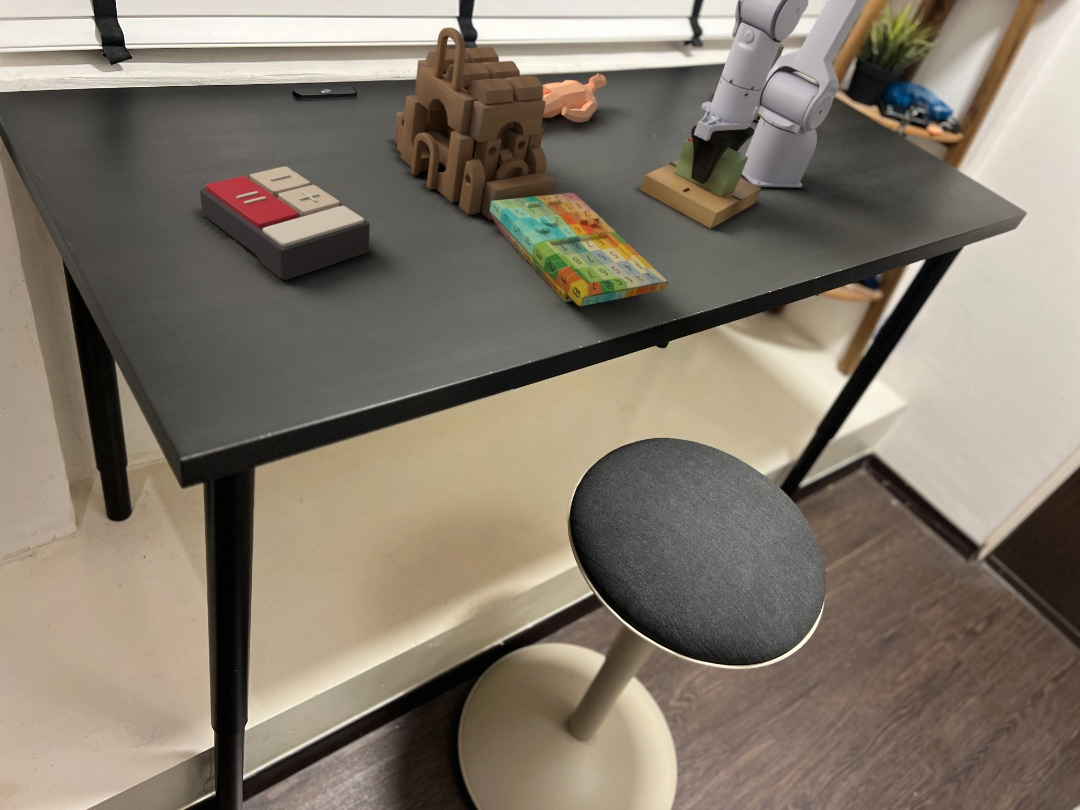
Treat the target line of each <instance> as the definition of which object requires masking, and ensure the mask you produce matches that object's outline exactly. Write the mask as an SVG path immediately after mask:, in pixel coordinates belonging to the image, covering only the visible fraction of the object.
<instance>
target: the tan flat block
mask: <svg viewBox="0 0 1080 810" xmlns="http://www.w3.org/2000/svg"><path fill="white" fill-rule="evenodd" d="M677 163H678V160H675V161H674V162H672V161H670V162H669V164H667V165H664V166H662V167H660V168H657V169H655V170H653V171H650V172H648V173H646V174H644V178H643V181H642V184H641V187H640V191H641V193H645V194H646V195H648V196H650V197H652V198H653V199H655V200H657V201H659V202H661V203H662V204H665V205H666V206H668V207H670V208H672V209H674V210H675V211H677V212H679V213H681V214H682V215H685V216H686V217H688V218H690V219H692V220H693V221H695V222H696V223H699V224H701V225H702V226H704V227H706V228H709V229H710V230H711V229H713V228H714V227H716V226H718V225H720V224H721V223H723V222H725V221H727V220H729V219H731V218H732V217H734V216H735V215H737V214H739V213H741V212H742V211H744V210H745V209H748V208H749V207H751V206H753V205H755V204H756V201H757V199H758V197H759V194H760V192H761V190H762V187H757V186H756V185H754V184H752V183H750V182H749V181H748V180H747V179H745V178H742V177H740V179H739V181H738V184H737V186H736V189H735V190H733V191H731V192H729V193H728V194H726V195H724V196H722V197H720V196H718V195H716V194H714V193H712V192H711V191H709V190H707V189H705V188H703V187H701V186H699V185H697V184H695V183H693V182H691V181H689V180H688V179H686V178H684V177H682V176H680V175H678V174H676V173H674V172H675V169H676V166H677Z"/></svg>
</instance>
